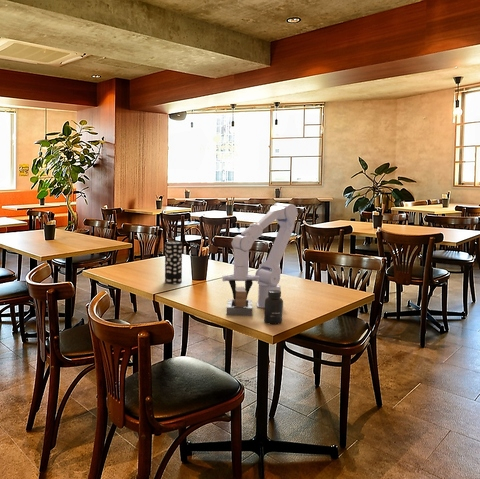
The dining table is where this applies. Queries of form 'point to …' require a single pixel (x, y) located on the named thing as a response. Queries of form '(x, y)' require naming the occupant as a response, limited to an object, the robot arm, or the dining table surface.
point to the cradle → (239, 308)
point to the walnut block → (240, 297)
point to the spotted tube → (173, 262)
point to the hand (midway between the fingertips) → (240, 298)
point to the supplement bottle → (273, 308)
